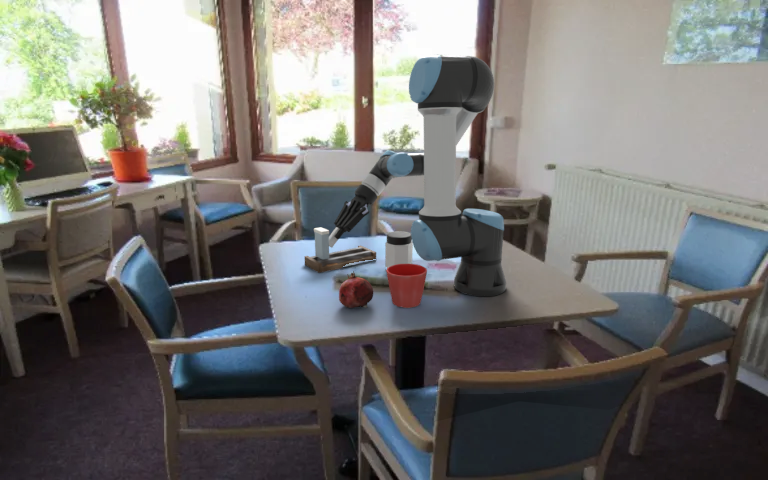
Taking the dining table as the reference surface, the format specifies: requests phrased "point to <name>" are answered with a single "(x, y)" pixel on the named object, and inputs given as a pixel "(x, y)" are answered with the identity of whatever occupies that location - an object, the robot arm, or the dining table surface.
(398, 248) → the jar
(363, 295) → the fruit
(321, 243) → the slider tab
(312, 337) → the dining table surface
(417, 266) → the flower pot
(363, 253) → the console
